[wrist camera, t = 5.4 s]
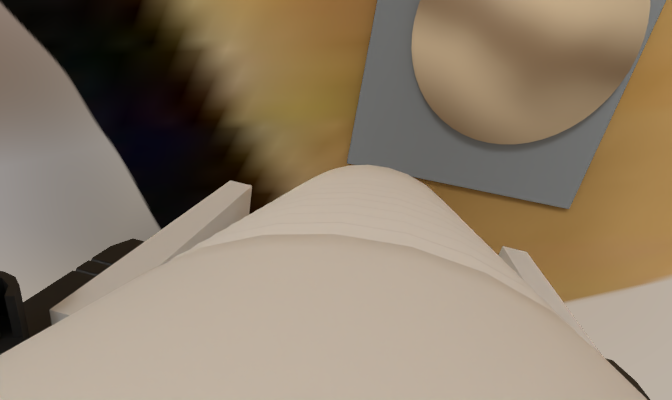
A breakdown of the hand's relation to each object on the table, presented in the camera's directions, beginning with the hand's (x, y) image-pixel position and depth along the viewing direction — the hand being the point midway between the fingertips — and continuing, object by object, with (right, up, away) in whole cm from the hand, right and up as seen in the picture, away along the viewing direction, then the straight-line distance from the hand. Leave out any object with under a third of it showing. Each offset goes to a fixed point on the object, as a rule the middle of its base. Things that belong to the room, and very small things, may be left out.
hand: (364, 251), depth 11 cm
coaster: (+10, +12, +9) cm, 18 cm away
